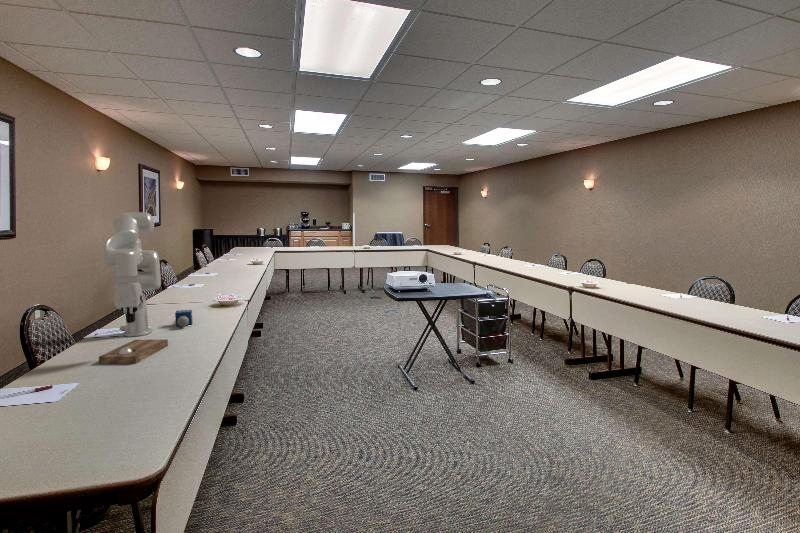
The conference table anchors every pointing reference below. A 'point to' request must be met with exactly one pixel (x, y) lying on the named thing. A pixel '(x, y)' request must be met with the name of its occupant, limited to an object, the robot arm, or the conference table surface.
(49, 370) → the conference table surface
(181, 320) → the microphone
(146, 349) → the deck
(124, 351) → the ball
